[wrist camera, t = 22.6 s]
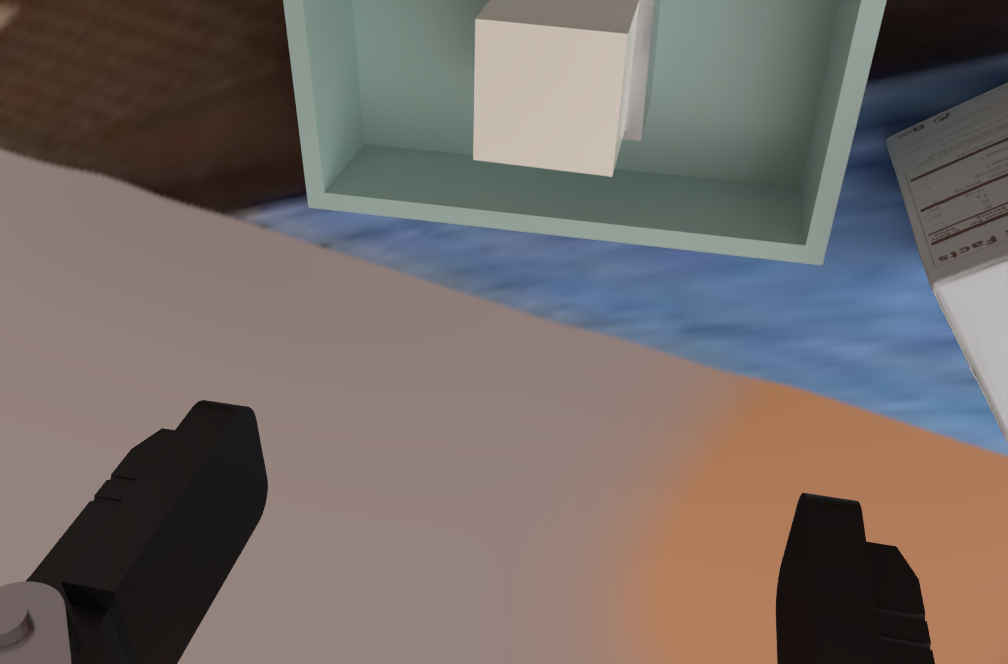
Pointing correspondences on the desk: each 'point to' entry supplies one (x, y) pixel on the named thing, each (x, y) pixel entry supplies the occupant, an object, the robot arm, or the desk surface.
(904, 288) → the desk surface
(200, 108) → the desk surface
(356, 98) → the tote
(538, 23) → the cream box
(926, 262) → the supplement box
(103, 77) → the desk surface
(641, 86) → the tin block
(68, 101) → the desk surface
